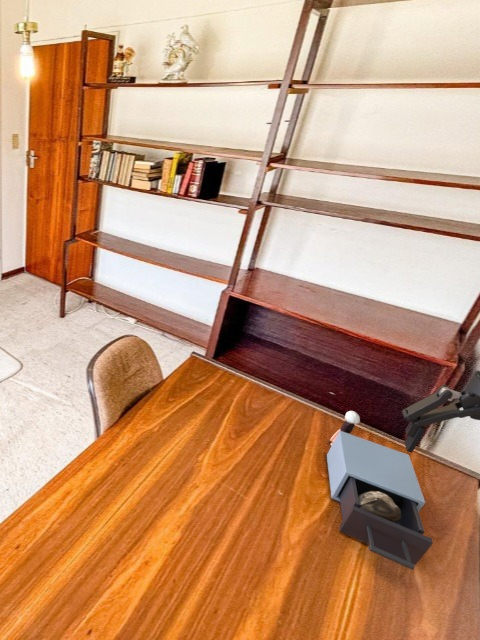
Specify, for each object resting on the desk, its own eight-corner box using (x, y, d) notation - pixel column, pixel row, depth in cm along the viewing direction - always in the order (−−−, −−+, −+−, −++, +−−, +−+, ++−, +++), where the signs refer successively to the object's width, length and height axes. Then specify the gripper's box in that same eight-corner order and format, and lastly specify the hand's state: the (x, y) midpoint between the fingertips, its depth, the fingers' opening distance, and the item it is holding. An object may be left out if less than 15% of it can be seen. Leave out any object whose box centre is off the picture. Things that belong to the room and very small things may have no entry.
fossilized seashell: (381, 503, 85) (420, 527, 85) (367, 476, 91) (404, 499, 91) (350, 516, 89) (386, 539, 89) (338, 489, 95) (373, 511, 95)
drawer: (423, 592, 80) (442, 570, 77) (342, 555, 86) (356, 532, 83) (400, 511, 96) (415, 489, 93) (334, 484, 102) (345, 463, 99)
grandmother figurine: (333, 435, 118) (349, 403, 113) (348, 443, 116) (366, 410, 110) (324, 448, 114) (341, 415, 108) (340, 456, 111) (358, 423, 106)
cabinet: (406, 529, 93) (425, 502, 89) (331, 498, 99) (346, 471, 95) (392, 480, 105) (408, 454, 101) (326, 455, 112) (339, 430, 107)
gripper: (422, 368, 76) (377, 448, 85) (623, 419, 64) (548, 505, 73) (412, 349, 81) (371, 425, 90) (595, 392, 70) (528, 475, 79)
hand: (450, 461), depth 82 cm, fingers open, 13 cm apart
